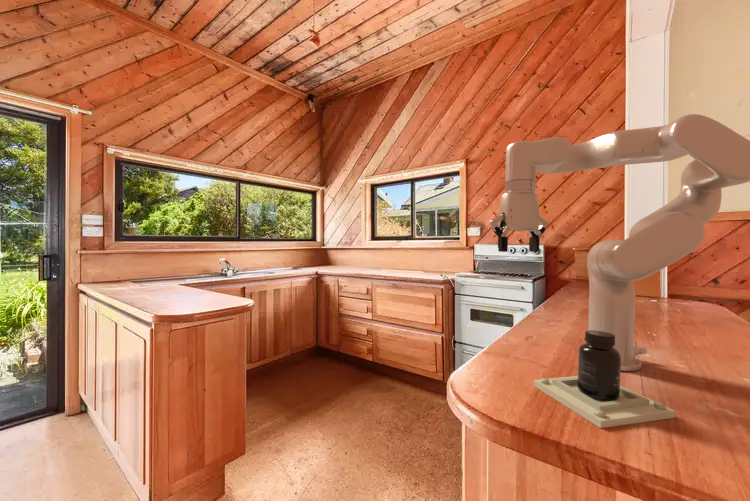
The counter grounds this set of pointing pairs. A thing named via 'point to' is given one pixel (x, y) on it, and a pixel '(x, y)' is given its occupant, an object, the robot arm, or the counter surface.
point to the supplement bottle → (599, 366)
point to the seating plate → (604, 404)
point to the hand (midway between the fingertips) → (518, 251)
